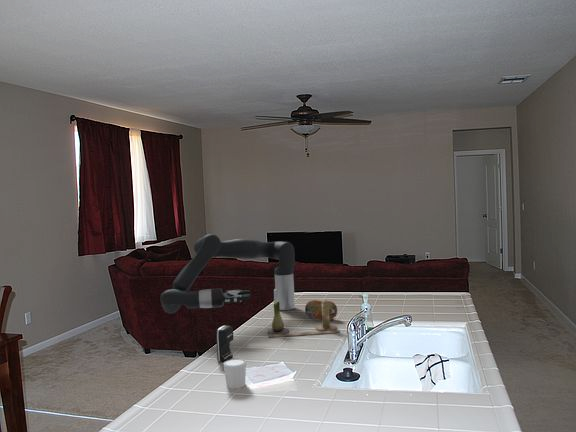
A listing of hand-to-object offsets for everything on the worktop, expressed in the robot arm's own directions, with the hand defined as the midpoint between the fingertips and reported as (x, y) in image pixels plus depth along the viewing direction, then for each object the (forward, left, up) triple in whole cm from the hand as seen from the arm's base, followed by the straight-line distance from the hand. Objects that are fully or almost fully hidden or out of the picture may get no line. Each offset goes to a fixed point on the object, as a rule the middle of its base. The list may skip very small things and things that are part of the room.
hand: (250, 295), depth 212 cm
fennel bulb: (+8, +7, -16) cm, 19 cm away
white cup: (+31, -47, -16) cm, 59 cm away
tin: (+13, +33, -16) cm, 39 cm away
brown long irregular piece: (+17, +12, -16) cm, 26 cm away
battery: (+12, -30, -16) cm, 36 cm away
